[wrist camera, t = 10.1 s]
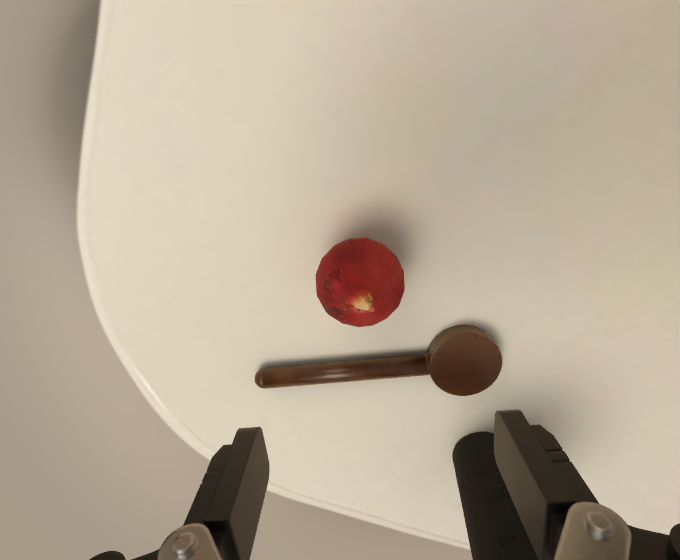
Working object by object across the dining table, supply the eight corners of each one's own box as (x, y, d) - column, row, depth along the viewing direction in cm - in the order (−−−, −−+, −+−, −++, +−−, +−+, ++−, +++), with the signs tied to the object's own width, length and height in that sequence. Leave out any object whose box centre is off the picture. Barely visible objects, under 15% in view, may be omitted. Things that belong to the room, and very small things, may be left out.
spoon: (250, 343, 32) (246, 353, 31) (496, 321, 31) (504, 331, 30) (263, 401, 34) (259, 413, 33) (495, 382, 33) (502, 394, 31)
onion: (341, 312, 31) (339, 368, 24) (306, 249, 30) (290, 287, 22) (409, 280, 30) (429, 328, 23) (376, 213, 29) (385, 240, 21)
